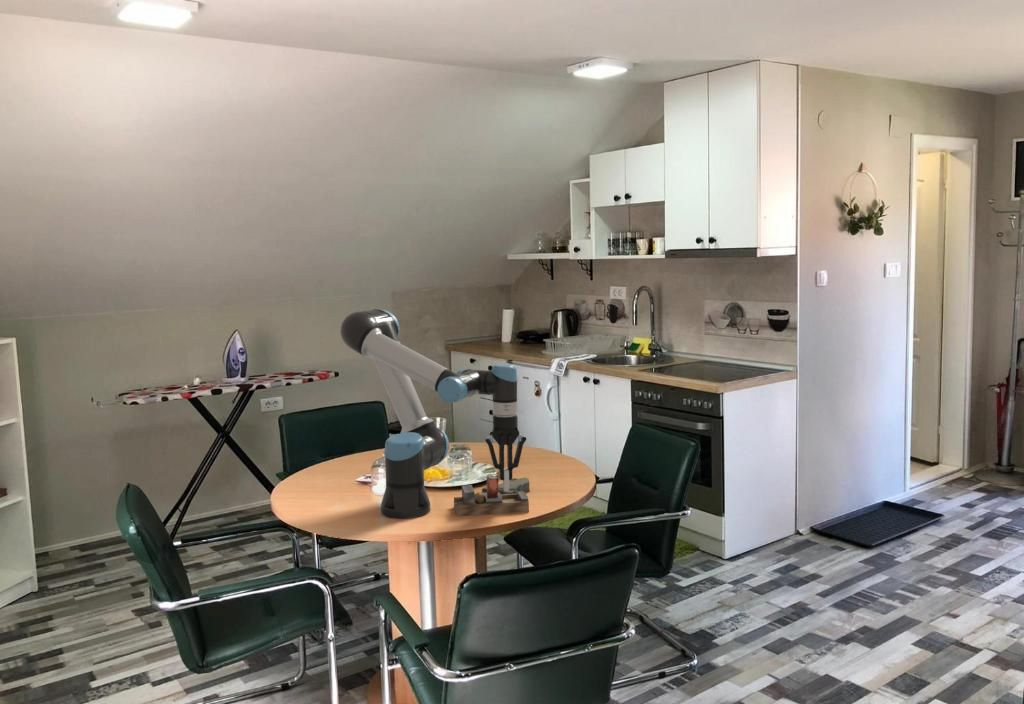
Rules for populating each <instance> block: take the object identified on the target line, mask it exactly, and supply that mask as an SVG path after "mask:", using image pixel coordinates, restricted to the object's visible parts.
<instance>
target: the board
mask: <svg viewBox="0 0 1024 704" xmlns="http://www.w3.org/2000/svg"><path fill="white" fill-rule="evenodd" d="M501 496H502V503H485V502H483V503H482V504H476V503H475V490H474V488H473V485H472V484H466V485H465V484H464V485H461V496H453V508H454V511H455V515H456V517H468V516H469V517H470V516H471V517H472V516H485V515H501V514H519V513H521V512H522V513H530V505H529V504H530V503H529V502H530V501H529V497H528V496H527V494H526V493H524V491H521V492H517V494H502V495H501ZM522 513H521V514H522Z"/></svg>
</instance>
